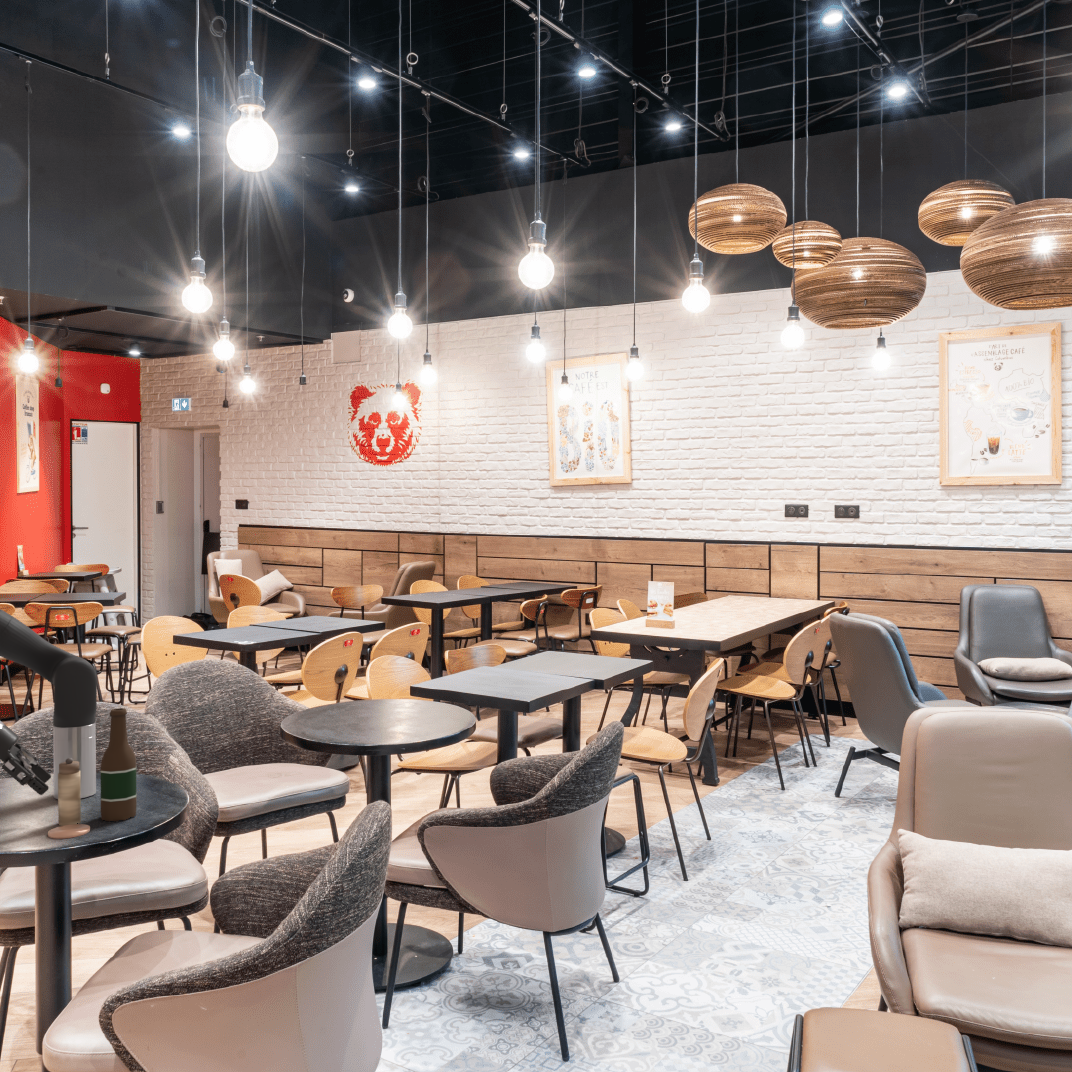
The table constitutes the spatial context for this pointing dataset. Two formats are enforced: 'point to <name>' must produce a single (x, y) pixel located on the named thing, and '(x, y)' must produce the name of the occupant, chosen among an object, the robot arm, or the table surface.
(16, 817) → the table surface
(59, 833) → the saucer
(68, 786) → the pepper mill
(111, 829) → the table surface
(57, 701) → the robot arm
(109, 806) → the beer bottle
